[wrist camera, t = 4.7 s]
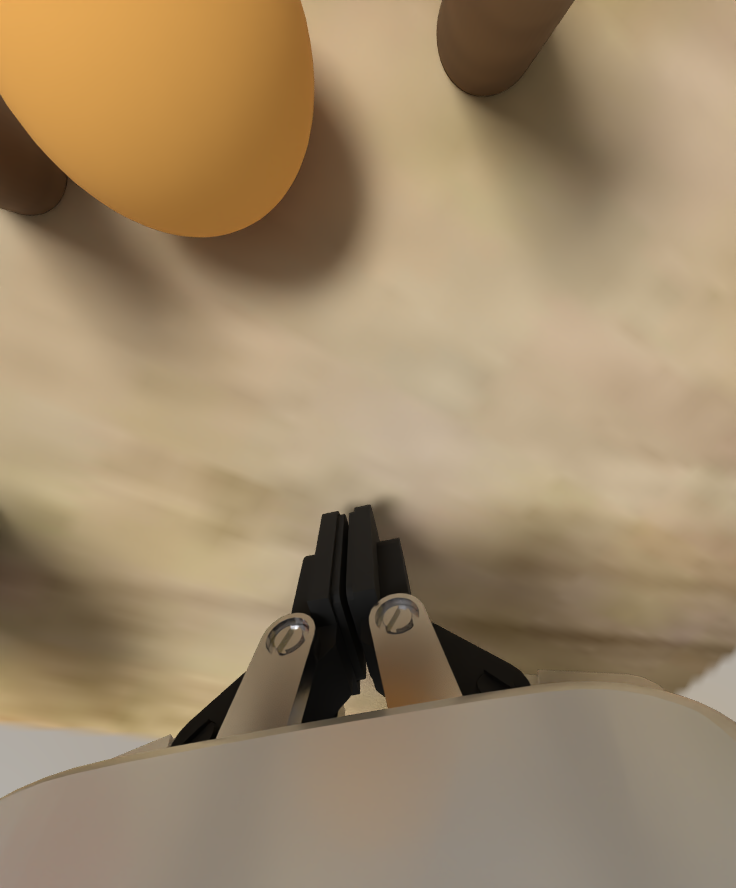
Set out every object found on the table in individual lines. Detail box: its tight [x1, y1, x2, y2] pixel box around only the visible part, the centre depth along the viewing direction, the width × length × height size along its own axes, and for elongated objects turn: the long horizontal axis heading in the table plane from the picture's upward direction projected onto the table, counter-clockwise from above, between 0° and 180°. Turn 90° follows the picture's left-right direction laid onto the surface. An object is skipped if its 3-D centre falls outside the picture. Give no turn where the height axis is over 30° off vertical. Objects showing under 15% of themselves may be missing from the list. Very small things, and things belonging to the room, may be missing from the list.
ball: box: [0, 0, 314, 237], centre depth 7 cm, size 6×6×6 cm
